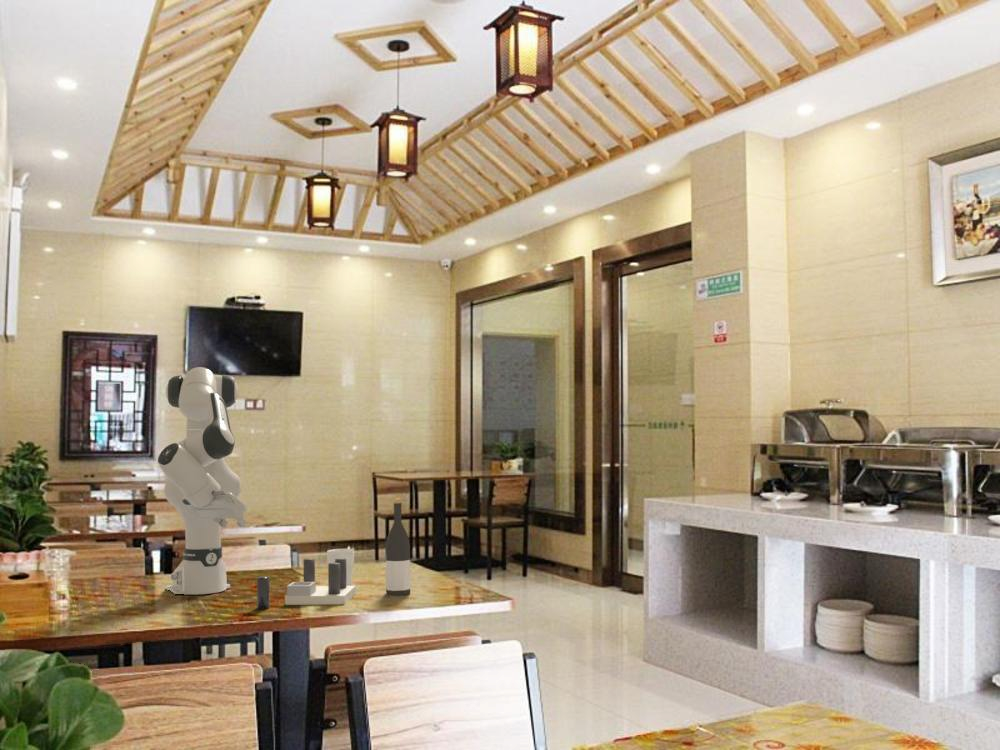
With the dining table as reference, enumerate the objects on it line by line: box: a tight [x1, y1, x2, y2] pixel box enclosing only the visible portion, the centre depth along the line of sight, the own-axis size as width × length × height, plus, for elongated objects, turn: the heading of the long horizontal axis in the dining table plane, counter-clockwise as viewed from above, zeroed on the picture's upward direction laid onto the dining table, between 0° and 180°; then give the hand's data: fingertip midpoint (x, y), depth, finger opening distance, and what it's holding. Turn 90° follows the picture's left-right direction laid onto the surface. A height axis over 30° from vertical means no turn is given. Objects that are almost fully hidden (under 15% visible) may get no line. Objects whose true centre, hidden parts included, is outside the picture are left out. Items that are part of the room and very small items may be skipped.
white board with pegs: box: [284, 558, 357, 606], centre depth 283 cm, size 18×18×12 cm
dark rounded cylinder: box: [256, 575, 270, 610], centre depth 270 cm, size 4×4×9 cm
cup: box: [326, 548, 355, 586], centre depth 306 cm, size 9×9×12 cm
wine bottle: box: [385, 497, 411, 596], centre depth 292 cm, size 8×8×30 cm
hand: (234, 525), depth 263 cm, fingers open, 8 cm apart
